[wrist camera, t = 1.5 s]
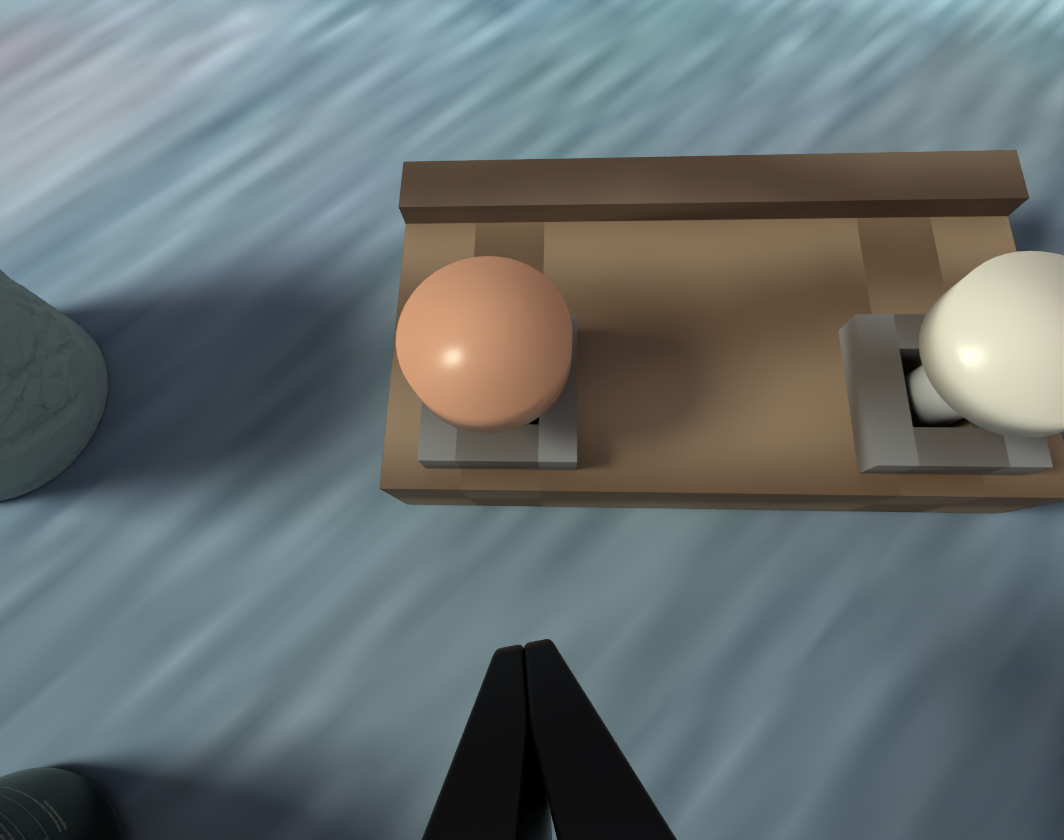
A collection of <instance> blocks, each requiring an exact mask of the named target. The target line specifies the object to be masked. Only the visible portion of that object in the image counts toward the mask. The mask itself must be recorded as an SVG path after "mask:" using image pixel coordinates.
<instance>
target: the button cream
mask: <svg viewBox="0 0 1064 840" xmlns="http://www.w3.org/2000/svg"><path fill="white" fill-rule="evenodd" d="M919 352H920V358H921V362H922V365H921V366H920V367H918V368H916V369H915V370H913V371H912V372H910V373H909V374H907V375H906V376H904V379H905V385H906V391H907V396H908V402H909V408H910V414H911V419H912V425H913V427H944V426H946V425H948V424H951V423H953V422H955V421H957V420H960V419H962V418H965V419H967V420H968V421H970V422H972V423H974V424H975V425H977V426H979V427H982V428H984V429H986V430H989V431H991V432H995V433H998V434H1001V435H1006V436H1011V437H1018V438H1040V437H1045V436H1051V435H1054V434H1057V433H1060V432H1063V431H1064V256H1063V255H1059V254H1055V253H1049V252H1042V251H1020V252H1013V253H1008V254H1004V255H1001V256H997V257H995V258H992V259H990V260H988V261H986V262H984V263H983V264H981V265H980V266H978V267H977V268H975V269H974V270H973V271H972V272H970V273H969V274H968V275H966V276H965V277H964V278H963V279H961V280H960V281H959V282H958V283H956V284H955V285H954V286H953V287H951V288H950V289H949V290H948V291H946V292H945V293H944V294H943V295H941V296H940V297H939V298H938V299H937V300H936V301H935V302H934V303H933V304H932V306H931V307H930V308H929V309H928V311H927V313H926V315H925V316H924V319H923V322H922V324H921V328H920V333H919Z"/></svg>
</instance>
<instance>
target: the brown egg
mask: <svg viewBox="0 0 1064 840" xmlns="http://www.w3.org/2000/svg"><path fill="white" fill-rule="evenodd" d="M396 350H397V357H398V361H399V364H400V367H401V369H402V372H403V374H404V376H405V378H406V379H407V381H408V383H409V384H410V386H411V387H412V388H413V390H414V391H415V392H416V394H417V395H418V397H419V398H420V399H421V401H422V402H423V403H424V404H425V406H426V407H427V408H428V409H429V410H430V411H431V412H432V413H433V414H434V415H435V416H436V417H438V418H439V419H441V420H442V421H444V422H445V423H447V424H449V425H451V426H453V427H455V428H458V429H461V430H464V431H468V432H473V433H483V434H491V433H501V432H506V431H510V430H514V429H517V428H520V427H522V426H524V425H526V424H528V423H530V422H532V421H533V420H535V419H536V418H538V417H539V416H541V415H542V414H543V413H544V412H545V411H547V410H548V409H549V408H550V406H551V405H552V404H553V403H554V402H555V401H556V399H557V398H558V397H559V395H560V394H561V392H562V390H563V388H564V386H565V384H566V382H567V379H568V376H569V372H570V368H571V359H572V322H571V317H570V313H569V310H568V307H567V305H566V302H565V300H564V299H563V297H562V295H561V293H560V292H559V291H558V289H557V288H556V286H555V285H554V284H553V283H552V282H551V281H550V280H549V279H548V278H547V277H546V276H544V275H543V274H542V273H541V272H539V271H538V270H536V269H534V268H533V267H531V266H529V265H527V264H524V263H522V262H520V261H516V260H513V259H510V258H504V257H496V256H481V257H473V258H467V259H463V260H460V261H457V262H454V263H452V264H449V265H447V266H445V267H443V268H441V269H439V270H438V271H436V272H434V273H433V274H432V275H430V276H429V277H428V278H426V279H425V280H424V281H423V282H422V283H421V284H420V285H419V286H418V287H417V288H416V290H415V291H414V292H413V293H412V294H411V296H410V298H409V299H408V301H407V302H406V304H405V306H404V308H403V310H402V312H401V315H400V318H399V322H398V326H397V332H396Z"/></svg>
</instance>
